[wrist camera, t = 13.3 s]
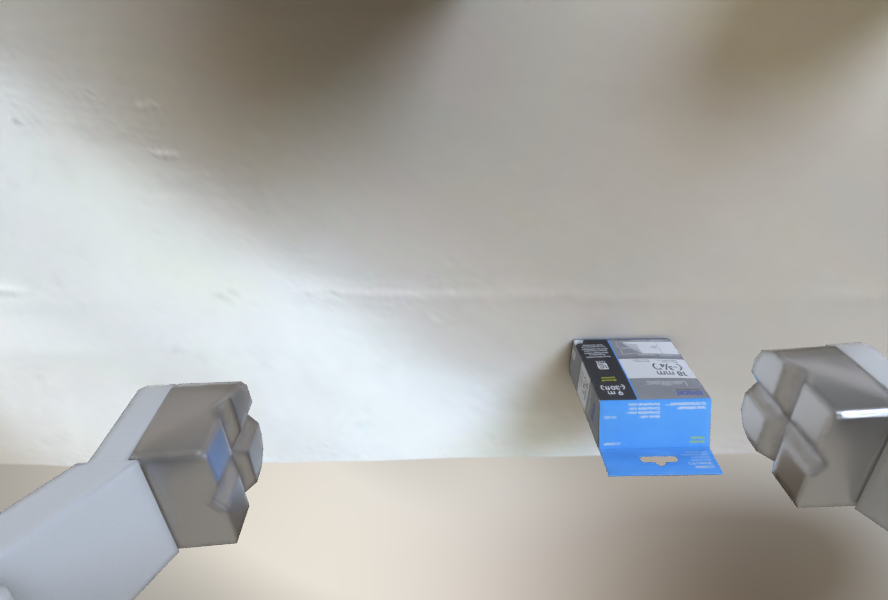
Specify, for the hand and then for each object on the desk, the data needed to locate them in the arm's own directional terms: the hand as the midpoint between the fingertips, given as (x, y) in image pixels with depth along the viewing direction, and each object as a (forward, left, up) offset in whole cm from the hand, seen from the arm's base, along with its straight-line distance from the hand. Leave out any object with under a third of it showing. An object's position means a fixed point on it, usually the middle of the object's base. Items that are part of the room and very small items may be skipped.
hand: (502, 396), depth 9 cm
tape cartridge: (+15, -24, -33) cm, 44 cm away
